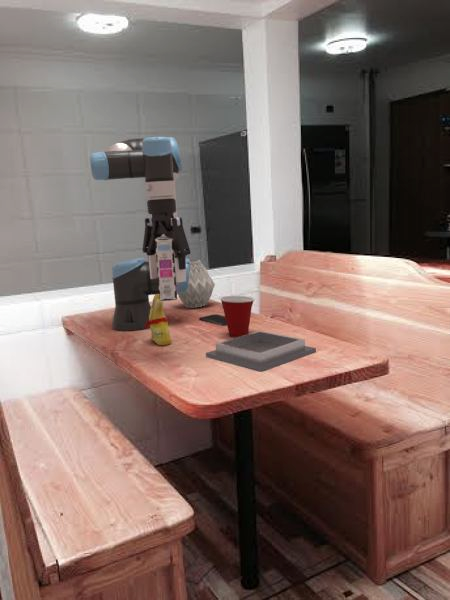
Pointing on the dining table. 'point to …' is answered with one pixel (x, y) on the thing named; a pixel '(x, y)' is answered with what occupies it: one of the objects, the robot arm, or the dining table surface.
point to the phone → (214, 319)
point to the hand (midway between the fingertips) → (167, 280)
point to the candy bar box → (166, 268)
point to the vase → (197, 286)
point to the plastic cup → (237, 314)
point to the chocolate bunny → (158, 323)
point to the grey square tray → (260, 350)
